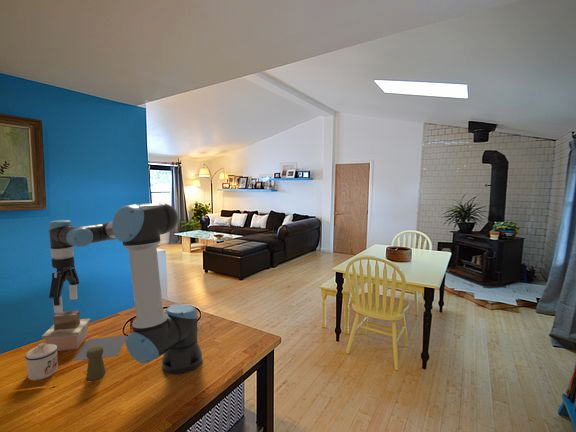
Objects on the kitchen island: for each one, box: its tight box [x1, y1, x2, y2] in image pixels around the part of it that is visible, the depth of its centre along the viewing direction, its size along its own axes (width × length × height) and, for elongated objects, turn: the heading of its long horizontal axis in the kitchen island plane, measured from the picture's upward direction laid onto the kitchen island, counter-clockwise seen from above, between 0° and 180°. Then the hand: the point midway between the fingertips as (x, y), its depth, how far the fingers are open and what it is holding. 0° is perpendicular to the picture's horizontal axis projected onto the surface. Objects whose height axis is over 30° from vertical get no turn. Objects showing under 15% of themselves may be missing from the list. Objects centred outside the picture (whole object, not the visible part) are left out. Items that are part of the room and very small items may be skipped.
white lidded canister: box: [24, 342, 59, 381], centre depth 108 cm, size 12×9×12 cm
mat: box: [72, 335, 127, 362], centre depth 124 cm, size 16×16×1 cm
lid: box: [41, 310, 92, 340], centre depth 125 cm, size 13×13×7 cm
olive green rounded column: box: [86, 346, 107, 382], centre depth 107 cm, size 6×6×11 cm
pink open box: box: [45, 324, 89, 352], centre depth 126 cm, size 11×11×7 cm
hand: (66, 305), depth 124 cm, fingers open, 13 cm apart
